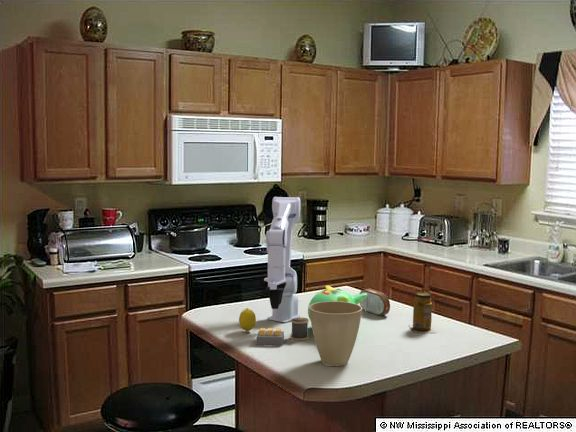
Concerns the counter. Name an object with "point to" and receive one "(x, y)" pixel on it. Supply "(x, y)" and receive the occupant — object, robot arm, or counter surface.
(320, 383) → the counter surface
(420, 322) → the condiment
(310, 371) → the counter surface
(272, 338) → the breaker strip
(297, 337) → the cord spool
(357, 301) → the green toy teapot
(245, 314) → the lemon
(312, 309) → the plant pot
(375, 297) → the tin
